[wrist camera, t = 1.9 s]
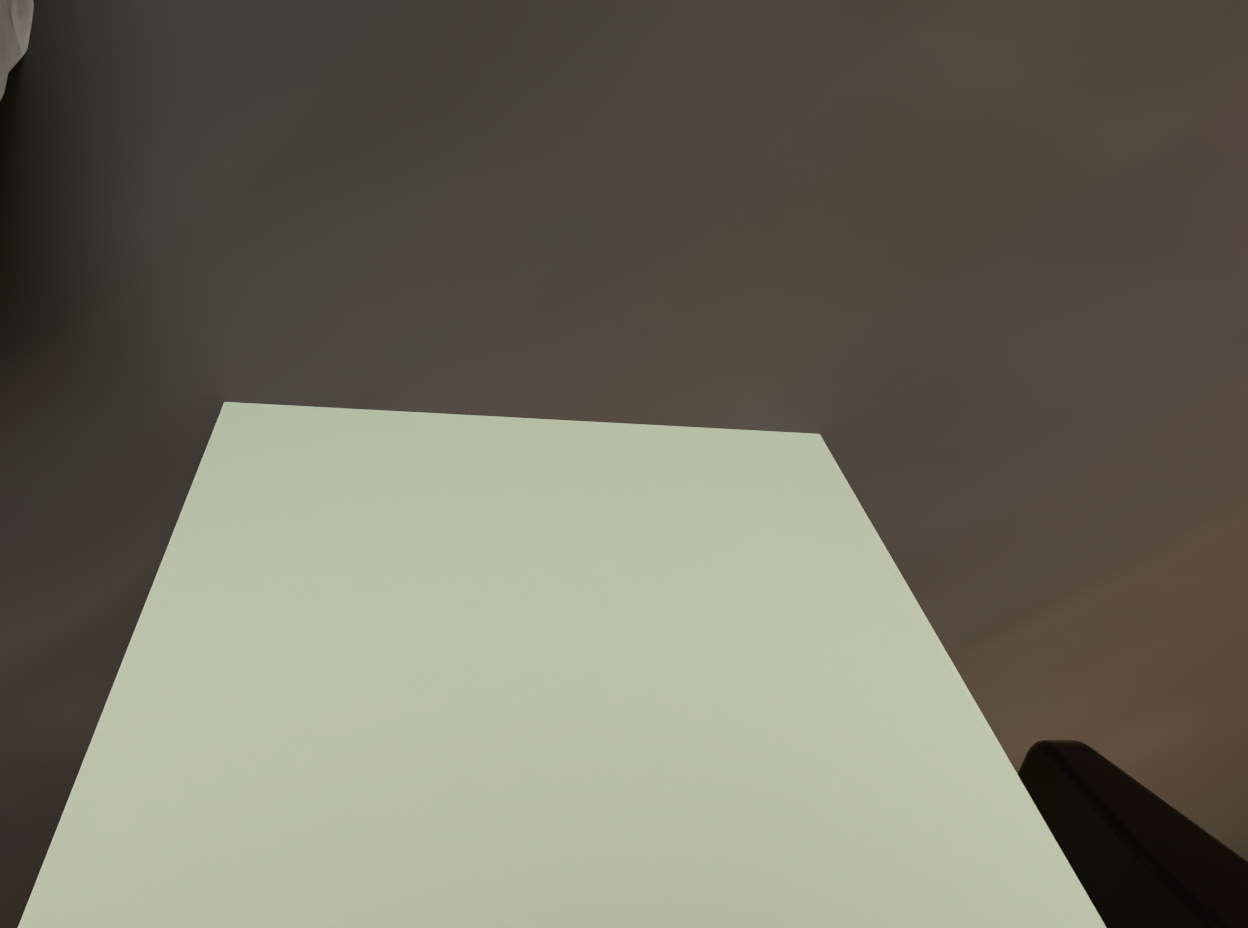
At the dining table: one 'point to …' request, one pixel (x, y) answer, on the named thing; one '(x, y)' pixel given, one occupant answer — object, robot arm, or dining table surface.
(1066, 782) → the robot arm
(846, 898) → the sage block
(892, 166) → the dining table surface
